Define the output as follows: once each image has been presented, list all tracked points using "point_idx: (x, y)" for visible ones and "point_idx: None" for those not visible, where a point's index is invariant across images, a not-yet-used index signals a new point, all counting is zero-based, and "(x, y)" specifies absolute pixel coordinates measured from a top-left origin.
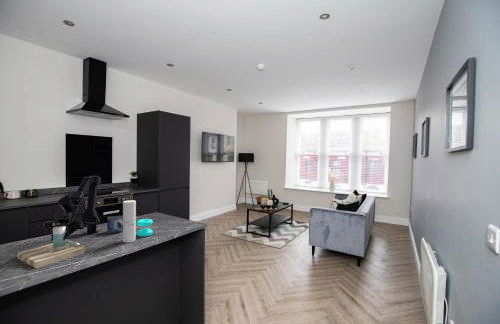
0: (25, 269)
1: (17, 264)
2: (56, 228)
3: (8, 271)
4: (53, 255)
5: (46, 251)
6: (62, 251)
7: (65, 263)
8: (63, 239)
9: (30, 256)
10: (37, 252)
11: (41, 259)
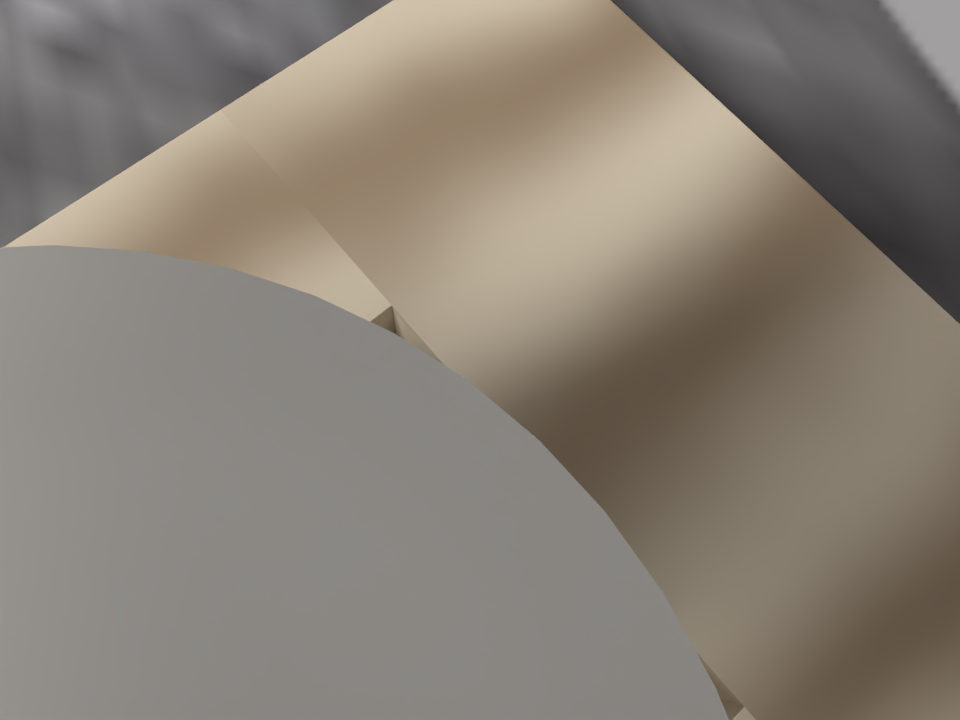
0: (657, 31)
1: (916, 277)
2: (202, 458)
3: (867, 41)
4: (326, 142)
5: (592, 477)
6: None
7: (112, 54)
8: None
9: (792, 243)
10: (782, 473)
11: (485, 12)
